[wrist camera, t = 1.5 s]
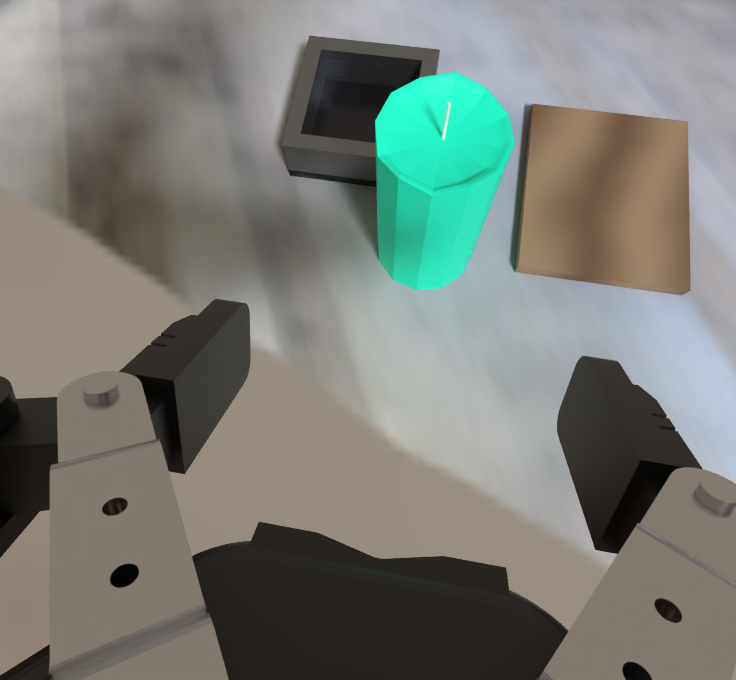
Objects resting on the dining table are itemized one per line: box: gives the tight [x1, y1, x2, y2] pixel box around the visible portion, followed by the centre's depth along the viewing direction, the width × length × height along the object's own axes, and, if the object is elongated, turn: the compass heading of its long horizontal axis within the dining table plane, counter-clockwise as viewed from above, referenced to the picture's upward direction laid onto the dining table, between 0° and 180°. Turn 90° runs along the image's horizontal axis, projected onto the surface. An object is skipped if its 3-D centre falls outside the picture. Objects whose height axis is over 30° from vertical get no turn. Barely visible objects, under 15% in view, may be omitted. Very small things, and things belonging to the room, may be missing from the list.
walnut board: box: [515, 104, 690, 295], centre depth 31 cm, size 10×12×1 cm
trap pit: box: [281, 36, 440, 187], centre depth 31 cm, size 9×9×3 cm
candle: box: [375, 72, 515, 290], centre depth 25 cm, size 6×6×12 cm
